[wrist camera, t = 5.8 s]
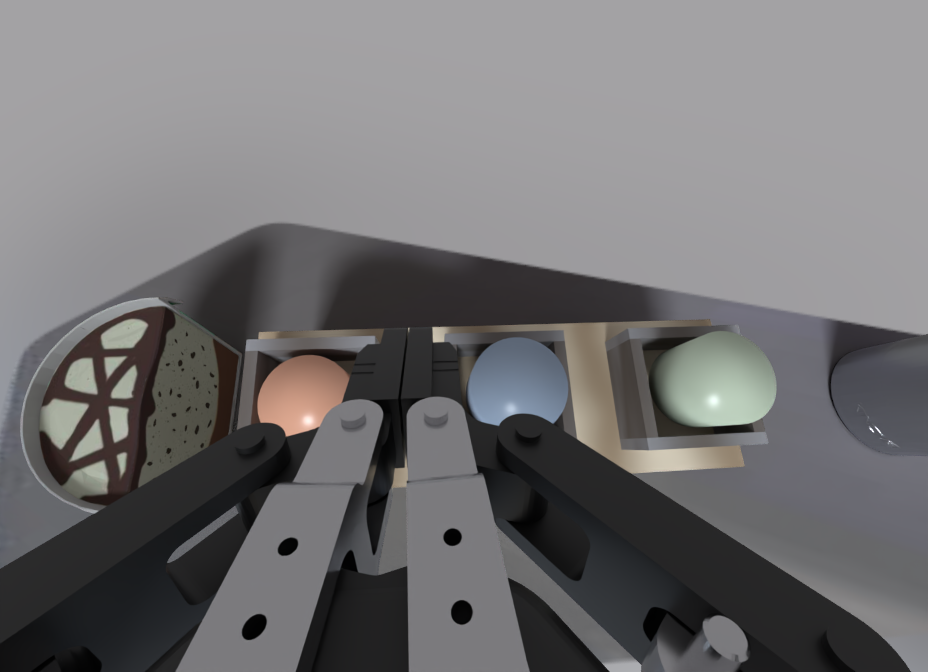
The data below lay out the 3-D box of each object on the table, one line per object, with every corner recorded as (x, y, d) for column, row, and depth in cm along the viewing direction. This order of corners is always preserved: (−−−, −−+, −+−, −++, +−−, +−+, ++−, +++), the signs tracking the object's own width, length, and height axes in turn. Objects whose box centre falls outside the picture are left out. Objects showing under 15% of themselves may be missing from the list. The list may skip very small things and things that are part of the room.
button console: (639, 351, 33) (745, 302, 22) (658, 460, 31) (790, 469, 19) (308, 363, 31) (233, 315, 20) (301, 481, 29) (210, 505, 17)
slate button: (543, 351, 21) (562, 335, 18) (552, 434, 20) (574, 433, 17) (463, 354, 21) (468, 338, 18) (467, 439, 19) (473, 437, 16)
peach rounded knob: (364, 366, 22) (353, 353, 19) (363, 445, 21) (350, 444, 18) (286, 368, 22) (261, 356, 19) (280, 449, 21) (253, 450, 18)
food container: (165, 336, 31) (44, 288, 21) (244, 336, 31) (160, 288, 22) (134, 501, 28) (-27, 530, 18) (223, 497, 28) (112, 525, 19)
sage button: (716, 345, 22) (762, 329, 19) (735, 425, 21) (787, 421, 18) (642, 348, 21) (676, 332, 18) (656, 429, 20) (696, 426, 17)
